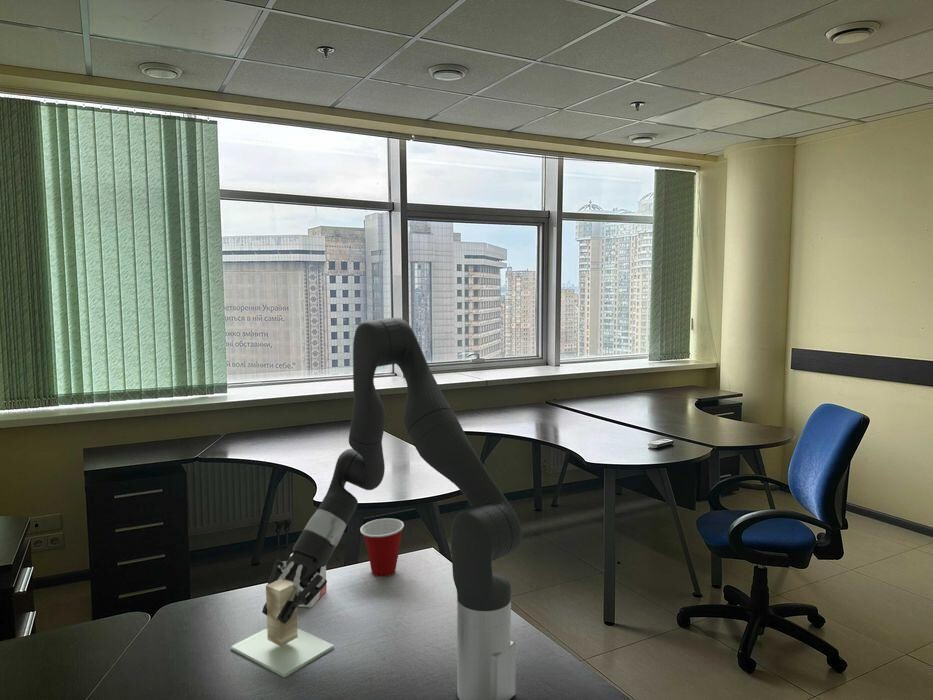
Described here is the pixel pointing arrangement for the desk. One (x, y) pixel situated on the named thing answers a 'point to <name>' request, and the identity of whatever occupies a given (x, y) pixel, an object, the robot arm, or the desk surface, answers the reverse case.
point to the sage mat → (282, 651)
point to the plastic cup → (383, 544)
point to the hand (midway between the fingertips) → (273, 617)
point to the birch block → (275, 602)
